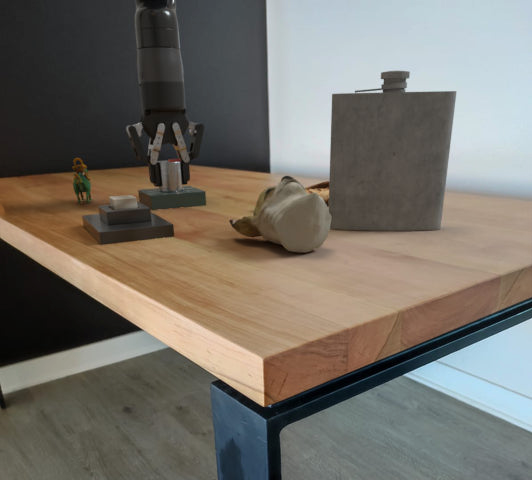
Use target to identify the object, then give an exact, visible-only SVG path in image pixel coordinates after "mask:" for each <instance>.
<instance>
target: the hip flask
mask: <svg viewBox="0 0 532 480" xmlns="http://www.w3.org/2000/svg"><path fill="white" fill-rule="evenodd" d="M410 74H411V72H410V71H407V70H387V71H382V72H381V73H380V80H383V84H381V86H380V87H381V88H371V89H359V90H354V92H348V93H346V92H345V93H343V92H341V93H332V94H331V116H330V118H331V119H330V147H329V148H330V149H329V150H330V151H329V153H330V154H329V180H328V181H329V205H328V210H329V214H330V215H331V225H330V230H331V229H332V230H341V231H343V230H344V231H373V232H374V231H375V232H376V231H377V232H381V231H383V232H384V231H385V232H405V231H408V232H409V231H410V232H412V231H413V232H415V231H416V232H417V231H437V230H440V229H442V221H443V220H442V219H443V210H444V202H445V194H446V186H447V177H448V169H449V160H450V151H451V142H452V134H453V126H454V125H453V124H454V116H455V107H456V99H457V91H456V90H452V91H451V90H445V91H444V90H443V91H442V90H441V91H440V90H439V91H438V90H437V91H435V90H434V91H406V89H407V88H408V82H407V79H410ZM376 91H382V92H376Z"/></svg>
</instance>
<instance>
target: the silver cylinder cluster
mask: <svg viewBox="0 0 532 480" xmlns="http://www.w3.org/2000/svg"><path fill="white" fill-rule="evenodd" d="M157 165H159V174H160V187H158V188H159V191H161V192H176V191H182V190H183V186H184V185H183V180H182V167H181V159H179V158H171V159H170V158H169V159H168V160H167V159H165V160H157Z"/></svg>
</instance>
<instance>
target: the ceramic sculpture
mask: <svg viewBox="0 0 532 480" xmlns="http://www.w3.org/2000/svg"><path fill="white" fill-rule="evenodd" d="M305 188H306V187H305V186H304V184H303V183H301V182H300V181H299V180H297V179H296V178H294V177H293V176H291V175H284V176H283V177H281V180H280V182H279V183H278V184H276V185H272V186H269V187H266V188H265V189H263V191H261V193H260V194H259V195H258V198H257V201H256V203H255V207H254V210H253V211H252V215H253V216H251V215H249V216H243V217H241V218H239V219H229V220H228V221H229V223H230V225H231V227H232V229H233V230H235V231H236V232H237V233H239V234H240V235H241V236H244V237H247V238H258V237H262V238H263V239H265V240H266V241H268V242H270V243H273V244H276V245H282V246H283V248H284V249H285V250H286V251H288V252H291V253H300V254H301V253H302V254H304V253H305V254H306V253H309V252H311V251H313V250H316V249H319V248H320V247H322V245H324V243H325V242H326V240H327V238H328V236H329V234H330V231H331V228H330V225H331V215H330V214H329V206H328V205H326V203H325V202H324V200H323V199H322V198H321V197H320V196H319V195H318V194H317V193H316V192H314V193H311V194H309V195H308V194H307V193H306V191H305Z"/></svg>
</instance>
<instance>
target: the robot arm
mask: <svg viewBox="0 0 532 480" xmlns="http://www.w3.org/2000/svg"><path fill="white" fill-rule="evenodd" d="M134 2H135V14H134V30H135V40H136V53H137V57H136V61H137V62H136V63H137V64H136V65H137V66H136V67H137V77H138V86H139V96H140V107H141V118H140V120H139V122H137V123H134V124H129V125H126V127H125V132H126V134H127V137H128V139H129V142H130V144H131V147H132V150H133V153H134V155H135V158H136V159H137V161H140V162H144V163H146V164H147V166H148V175H149V181H150V183H151V184H153V186H154V188H155V187H156V188H159V187H160V174H159V165H157V161H158V159H159V155H160V154H159V153H160V151H161V147H162V146H164V145H167V144H168V145H169V144H170V145H172V146H173V148H174V150H175V151H176V155H177V157H178V159H181V167H182V180H183V186H187V185H188V182H189V181H190V180H191V171H190V170H191V169H190V163H191V161H193V160H195V159H198V158H199V156H200V151H201V146H202V142H203V141H202V140H203V135H204V130H205V125H204V124H203V123H199V122H193V121H190V119H189V117H188V114H187V106H186V105H187V104H186V92H185V90H186V89H185V72H184V64H183V59H182V54H181V44H180V31H179V22H178V21H179V20H178V16H177V0H134ZM142 130H143V131H144V133H146V136H148V137H149V141H148V147H147V148H148V151H147V154H146V151H145V149H144V147H143V144H142V141H141V139H140V137H142ZM187 130H189V132H188V133H189V134H190V135H191V136H190V137H191V138H190V141H189V147H188V150H187V145H186V142H185V140H184V135H185V134H186V132H187Z"/></svg>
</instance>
